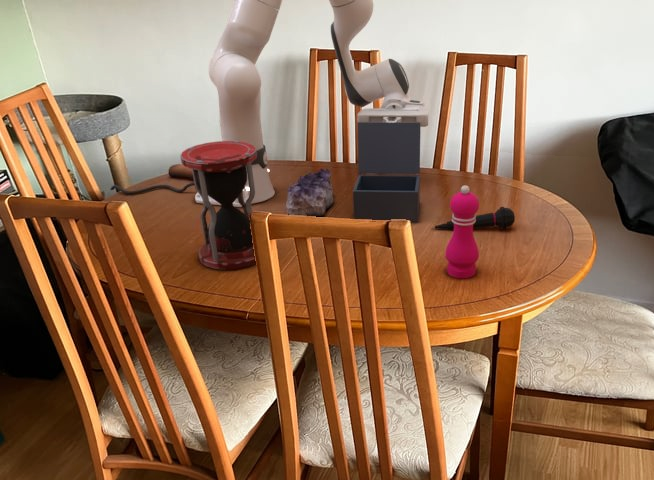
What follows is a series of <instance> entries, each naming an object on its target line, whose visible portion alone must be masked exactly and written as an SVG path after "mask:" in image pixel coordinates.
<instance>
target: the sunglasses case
mask: <svg viewBox="0 0 654 480" xmlns="http://www.w3.org/2000/svg"><path fill="white" fill-rule="evenodd" d="M168 177H181V178H190V179H194V178H193V173H192V169H189V168H187V167H185V166H183V164H182V163H177V164H171V165H170V166H169V168H168Z"/></svg>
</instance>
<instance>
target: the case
mask: <svg viewBox="0 0 654 480" xmlns="http://www.w3.org/2000/svg"><path fill="white" fill-rule="evenodd" d="M420 181H421V175H420V174H358V176H357V178H356V181H355V184H354V186H353V190H352V206H353V219H354V218H355V219H372V220H391V219H406V220H410V221H411V222H410V223H418V221H419V213H420V204H421V203H420V201H421V200H420V198H421V197H420V194H421V192H420V191H421V190H420V189H421V187H420V186H421V185H420V184H421V183H420Z"/></svg>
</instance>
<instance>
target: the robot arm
mask: <svg viewBox="0 0 654 480" xmlns="http://www.w3.org/2000/svg"><path fill="white" fill-rule="evenodd" d="M328 1H329V4H330V6H331V9H332V12H333V21H332V23H331V24H330V36H331V40H332V41H331V42H332V46H333V48H334V53H335V56H336V59H337V62H338V67H339V70H340V73H341V76H342V80H343V85H344V91H345V95H346V97H347V100H348V101H349V103H350V104H351V105H353V106H356V107H359V108H363V109H360V110H359V112H358V113H357V115H356V116H357V117H356V118H357V119H356V121H357V123H358V122H421V128H425V127H428V126H429V110H428V108H427V107H426V106H425V102H424V101H420V100H413V99H411V96H410V94H409V89H410V83H409V80H408V76H407V74H406V72H405V69H404V67H403V66H402V64H401V63H399V61H396V60H395V59H393V58H387V59H385V60H382V61H380V62H378V63H375V64H374V65H371V66H368V67H366V68H364V69H361V70H357V69H356V68H355V64H354V61H353V57H352V54H351V51H350V45H351V42H352V41H353V40H354V38H355V37H356V36H358V34H359V33H360V32H361V31H362V30H363V29H364V28H365V27H367V24H368V23H369V22H370V20H371V18H372V16H373V13H374V2H373V0H328ZM282 2H283V0H234V1H233V3H232V6H231V10H230V13H229V16H228V19H227V22H226V25H225V26H224V29H223V31H222V33H221V35H220V37H219V39H218V41H217V44H216V47H215V49H214V51H213V54H212V57H211V59H210V61H209V64H208V76H209V78H210V81H211V82H212V84H213V85H214V86H215V88H216V91H217V95H218V96H217V97H218V108H219V119H218V123H219V129H220V136H221V141H240V142H246V143H249V144H252V145H254V146H255V147H256V148H257V149H256V150H257V158H256V159H255V160H254V161H253V162H251V164H252V171H253V179H254V186H255V196H254V199H253V200H252V202H251V205H253V204H257V203H261V202H262V203H263V202H265V201H267V200H269V199H271V198H273V197H274V196H275V194H276V191H275V189H274V187H273V184H272V181H271V178H270V173H269V172H270V168H268V155H267V150H266V145H265V144H264V136H263V130H262V129H263V128H262V121H261V120H262V117H261V107H262V103H261V102H262V101H261V100H262V97H261V96H262V95H261V94H262V93H261V91H262V90H261V87H262V77H261V75H260V72H259V69H258V67H257V66H256V65H257V64H256V63H257V62H258V60H259V57H260V55H261V54H262V52H263V50H264V49H265V47H266V45H267V44H268V43H269V41H270V39H271V36H272V33H273V30H274V26H275V25H276V22H277V18H278V15H279V12H280V9H281V6H282ZM380 99H383V100H382V103H381V106H380V107H376V108H374V107H373V108H371V107H370V108H365V107H366V106H368V105H370V104H372V103H373V102H376V101H378V100H380ZM246 168H247V166H246ZM192 186H195V184H194V181H193V182H190V183H187V184H186V185H184V186H183V187H182V188H175V187H174V186H171V185H168V184H156V185H152V186H147V187H144V188H141V189H137V190H127V189H126V190H125V189H124V188H122V187H121V186H120V185H118V184H113V185H112V186H111V188H110V189H109V190H110V191H114V190H115V189H116V190H118V191H120V192H121V193H123V194H127V195H137V194H141V193H144V192H148V191H152V190H156V189H165V188H166V189H169V190H172V191H173V192H176V193H184V192H185V191H186V190H187V189H188V188H190V187H192ZM249 195H250V189H249V182H248V174H247V182H246V185H245V188H244V189H243V198H244V202H245V203H246V200H247V199H248V198H249ZM208 198H209V201H210V203H211V205H212V206H213V205H214V206H221V204H220V203H218V202H217V201H215V200H214V199H212V198H211V197H210V196H208ZM194 201H195V203H197V204H203V205H204V203H203V200H202V197H201V195H200V194H199V193H198V192H197V191H196V193H195V195H194ZM233 206H234V207H236V208H243V207H242V205H241V204H240V203H239V201H238V198H237V199H236V200H235V201H234V202H233Z"/></svg>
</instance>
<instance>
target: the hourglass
mask: <svg viewBox="0 0 654 480" xmlns="http://www.w3.org/2000/svg"><path fill="white" fill-rule="evenodd" d="M256 149H257V148H256V147H255V146H254V145H252V144H249V143H246V142H240V141H222V140H219V141H211V142H205V143H201V144H196V145H193V146H191V147H188V148H186V149H185V150H182V152H181V153H180V154H179V155H180V162H181V164H183V166H185V167H187V168H189V169H192V173H193V178H192V179H193V182H194V184H195V185H194V187H195V189H196V193H197V192H198V193H199V194H200V195H201V197H202V200H203V203H204V204H203V203H202V204H203V208H202V210H201V212H200V222H201V228H202V232H203V238H204V239H203V240H204V244H203V245H202V246H201V247H200V248H199V250H198V257H199V260H200V263H201V264H203V266H205V267H207V268H211V269H214V270H223V271H228V270H229V271H231V270H240V269H245V268H249V267H252V266H254V265H257V264H256V261H255V256H254V249H253V243H252V235H251V229H250V220H251V219H250V220H249V214H250V213H251V212H253V209H252V204H251V202H252V200H253V199H254V196H255V186H254V179H253V171H252V164H251V162H253V161H254V160H255V159H256V158H257V150H256ZM246 166H247V168H246ZM247 174H248V182H249V189H250V195H249V198H248V199H247V200H246V203H245V202H244V198H243V189H244V188H245V185H246V182H247ZM208 196H210V197H211V198H212V199H214V200H215V201H217V202H218V203H220V204H221V205H220V208H219V209H218V210H217V211H216V208H215V206H213V204H211V203H210V201H209V198H208ZM237 198H238V201H239V203H240V204H241V205H242V207H241V208H242V211H241V210H240V209H239V208H238V207H234V206H233V202H234V201H235V200H236V199H237ZM207 212H209V220H210V221H209V224H208V221H207Z"/></svg>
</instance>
